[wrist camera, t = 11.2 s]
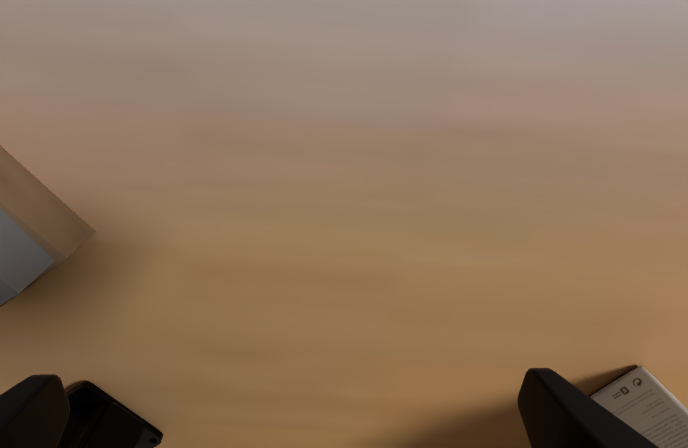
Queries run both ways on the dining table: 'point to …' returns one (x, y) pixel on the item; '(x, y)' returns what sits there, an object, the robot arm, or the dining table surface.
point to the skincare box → (647, 408)
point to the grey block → (18, 259)
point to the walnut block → (39, 213)
